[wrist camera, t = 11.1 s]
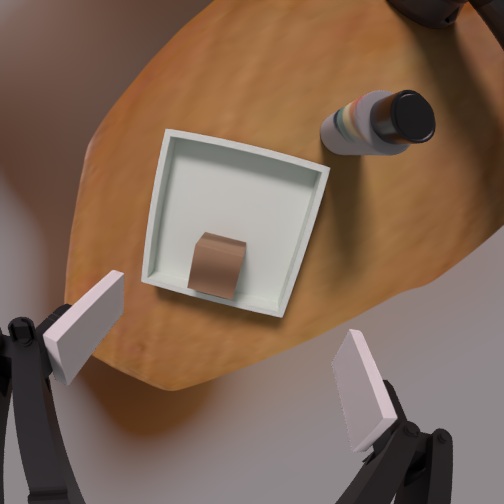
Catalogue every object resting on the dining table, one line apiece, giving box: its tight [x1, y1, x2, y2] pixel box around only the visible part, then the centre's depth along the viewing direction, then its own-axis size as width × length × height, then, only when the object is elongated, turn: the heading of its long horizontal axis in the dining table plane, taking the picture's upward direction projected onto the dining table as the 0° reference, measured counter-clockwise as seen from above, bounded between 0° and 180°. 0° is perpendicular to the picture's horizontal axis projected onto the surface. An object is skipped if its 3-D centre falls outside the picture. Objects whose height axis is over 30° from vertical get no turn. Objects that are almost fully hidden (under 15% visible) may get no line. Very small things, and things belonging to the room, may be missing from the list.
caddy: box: [141, 129, 330, 318], centre depth 35 cm, size 20×20×5 cm
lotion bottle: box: [320, 90, 436, 155], centre depth 24 cm, size 6×6×20 cm
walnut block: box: [187, 232, 246, 300], centre depth 34 cm, size 6×6×6 cm
